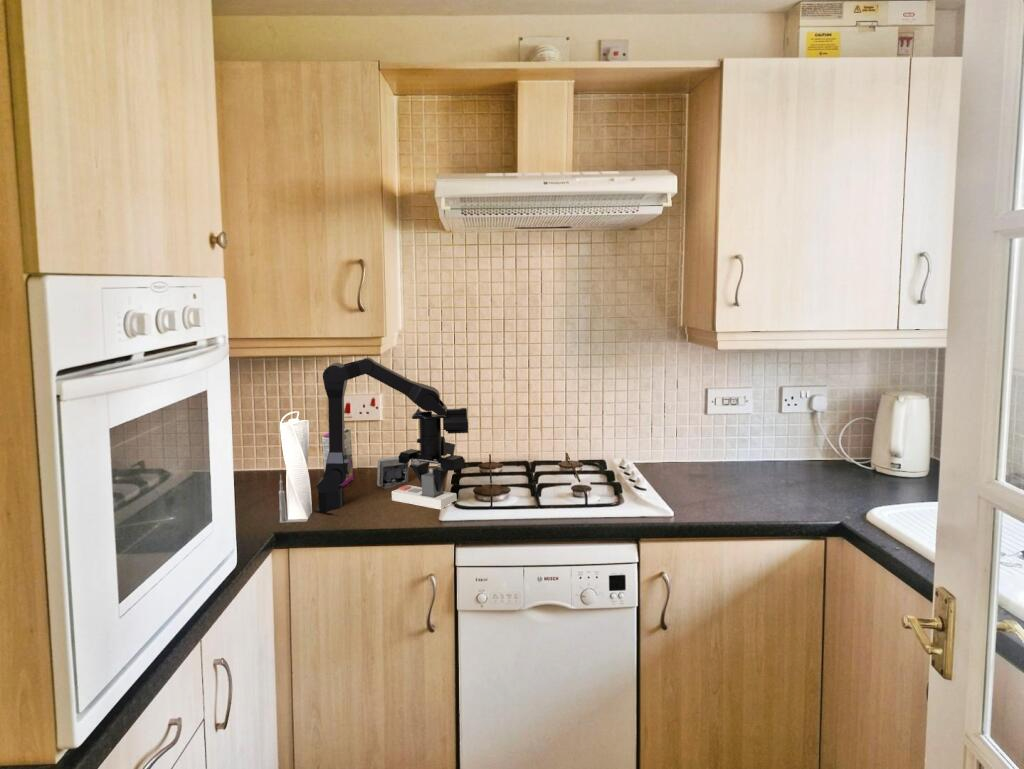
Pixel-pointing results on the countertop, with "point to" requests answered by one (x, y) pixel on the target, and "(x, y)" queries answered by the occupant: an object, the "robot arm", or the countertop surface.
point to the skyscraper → (295, 471)
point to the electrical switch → (391, 472)
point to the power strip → (422, 497)
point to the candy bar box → (347, 448)
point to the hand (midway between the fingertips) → (432, 490)
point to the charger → (430, 485)
